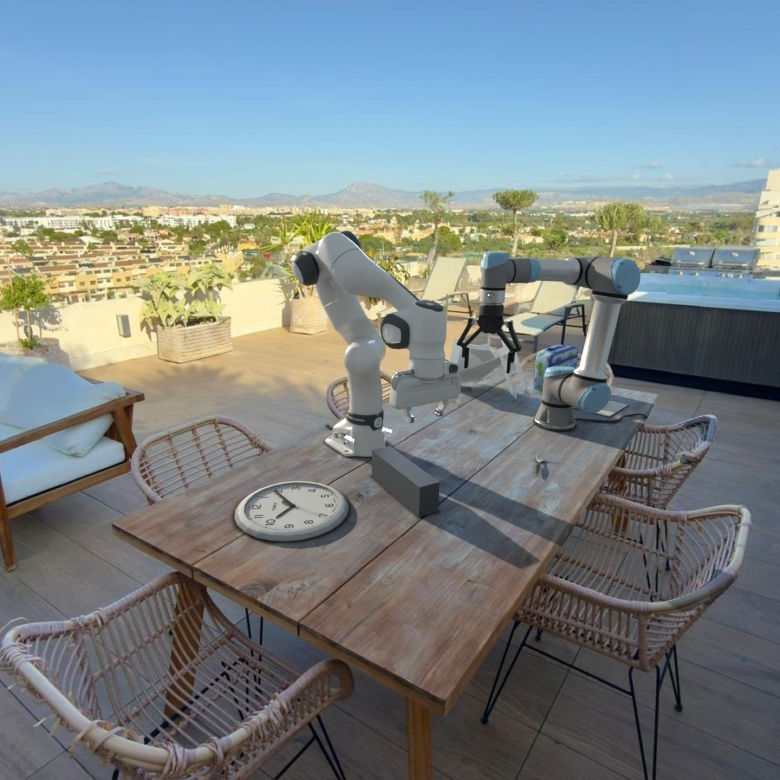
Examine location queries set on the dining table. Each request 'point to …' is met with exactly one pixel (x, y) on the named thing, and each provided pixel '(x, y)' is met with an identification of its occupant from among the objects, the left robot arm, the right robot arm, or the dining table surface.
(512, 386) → the white plastic object
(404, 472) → the box
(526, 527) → the dining table surface
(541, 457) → the fork
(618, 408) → the invitation card
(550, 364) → the lunch box
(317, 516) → the wall clock
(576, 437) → the dining table surface
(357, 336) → the left robot arm
